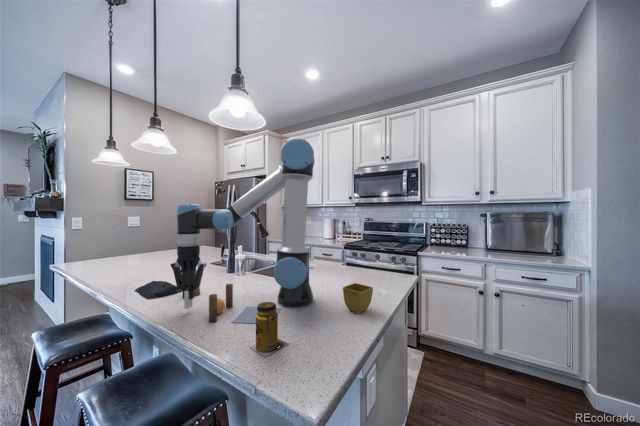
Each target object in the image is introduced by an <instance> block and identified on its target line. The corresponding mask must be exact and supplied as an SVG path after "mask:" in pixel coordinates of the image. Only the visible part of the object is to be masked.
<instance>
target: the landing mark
mask: <svg viewBox="0 0 640 426" xmlns="http://www.w3.org/2000/svg"><path fill="white" fill-rule="evenodd" d="M281 310H282V307H276V313H277V315H278V316H279V313H280V312H281ZM256 315H257V306H245V308H244V309H243V310H242V311H241V312H240V313H239V314H238V315H237V316H236V317H235V318H234V319H233V320H232V321H231V323H232V324H247V325H248V324H251V325H253V324H254V325H256Z"/></svg>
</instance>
